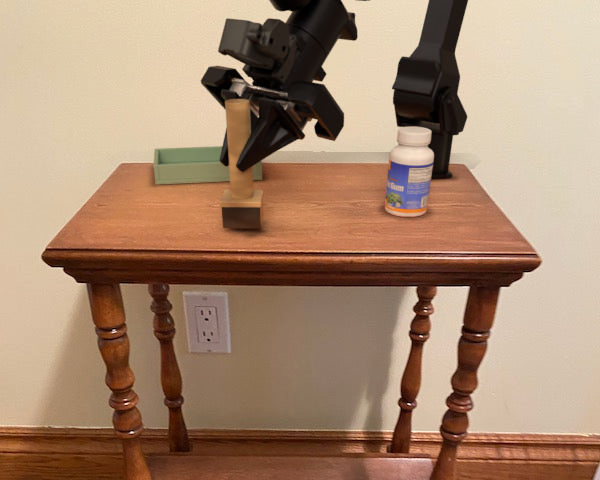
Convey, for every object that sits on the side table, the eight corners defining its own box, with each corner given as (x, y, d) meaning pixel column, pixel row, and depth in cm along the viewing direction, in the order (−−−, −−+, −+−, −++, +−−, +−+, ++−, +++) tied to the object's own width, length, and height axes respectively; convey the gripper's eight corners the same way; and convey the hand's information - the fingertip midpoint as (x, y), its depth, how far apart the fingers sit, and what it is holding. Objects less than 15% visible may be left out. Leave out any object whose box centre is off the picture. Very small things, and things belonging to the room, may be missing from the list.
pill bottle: (377, 206, 81) (383, 126, 75) (413, 202, 83) (422, 123, 77) (396, 220, 77) (404, 136, 71) (435, 215, 78) (446, 132, 73)
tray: (254, 162, 98) (254, 144, 97) (262, 179, 91) (261, 161, 89) (156, 166, 96) (154, 148, 95) (155, 184, 89) (153, 165, 87)
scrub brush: (264, 215, 76) (260, 97, 68) (261, 229, 72) (257, 105, 64) (226, 215, 76) (218, 97, 68) (221, 228, 72) (212, 105, 65)
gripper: (207, -18, 68) (133, 105, 68) (328, -13, 57) (240, 135, 57) (264, 57, 77) (199, 166, 77) (379, 74, 66) (302, 201, 66)
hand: (230, 166), depth 69 cm, fingers closed on scrub brush, 2 cm apart
